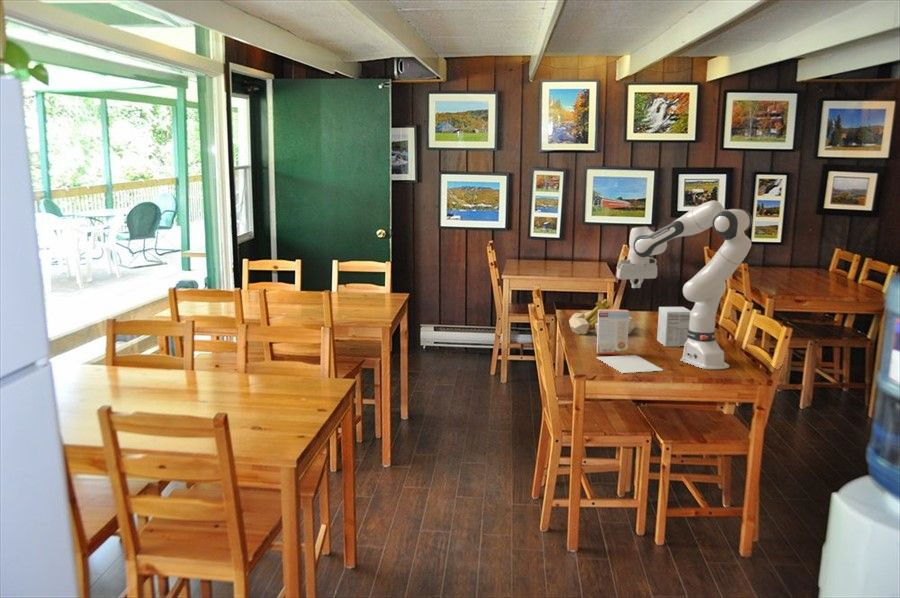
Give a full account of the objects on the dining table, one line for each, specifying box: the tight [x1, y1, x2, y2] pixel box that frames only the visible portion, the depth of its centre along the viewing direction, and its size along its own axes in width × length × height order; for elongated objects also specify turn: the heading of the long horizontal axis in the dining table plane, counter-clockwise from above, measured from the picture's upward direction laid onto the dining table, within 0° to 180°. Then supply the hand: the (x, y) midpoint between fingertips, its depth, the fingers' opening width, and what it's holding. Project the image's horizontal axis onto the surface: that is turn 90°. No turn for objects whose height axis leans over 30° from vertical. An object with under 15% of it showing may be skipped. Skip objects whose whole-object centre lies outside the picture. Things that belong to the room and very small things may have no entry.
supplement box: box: [656, 306, 691, 347], centre depth 381 cm, size 13×13×18 cm
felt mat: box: [595, 354, 664, 375], centre depth 344 cm, size 26×20×1 cm
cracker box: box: [596, 308, 630, 356], centre depth 359 cm, size 14×6×21 cm, turn 84°
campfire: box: [568, 298, 635, 335], centre depth 407 cm, size 35×34×17 cm
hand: (636, 287), depth 370 cm, fingers closed
